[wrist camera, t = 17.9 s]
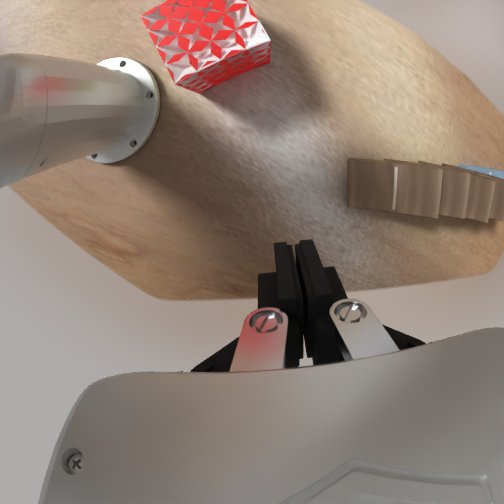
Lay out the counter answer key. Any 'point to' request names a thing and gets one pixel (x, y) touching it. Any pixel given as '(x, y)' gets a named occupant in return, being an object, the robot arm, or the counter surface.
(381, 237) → the counter surface
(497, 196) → the domino
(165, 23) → the red patterned cube
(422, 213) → the domino
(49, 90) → the robot arm
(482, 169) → the domino
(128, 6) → the counter surface
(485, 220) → the domino
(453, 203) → the domino
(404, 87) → the counter surface
